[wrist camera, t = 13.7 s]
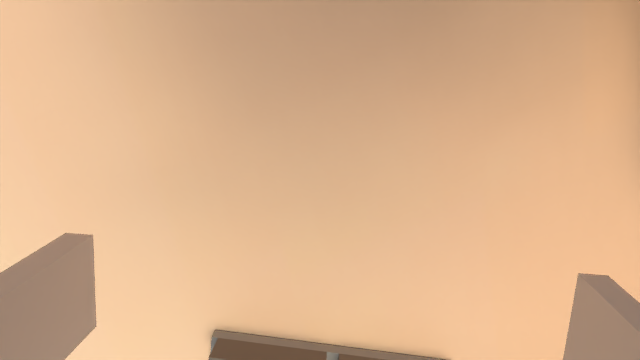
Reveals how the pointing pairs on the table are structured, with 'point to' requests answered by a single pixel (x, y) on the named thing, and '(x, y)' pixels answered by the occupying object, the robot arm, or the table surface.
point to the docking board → (290, 349)
